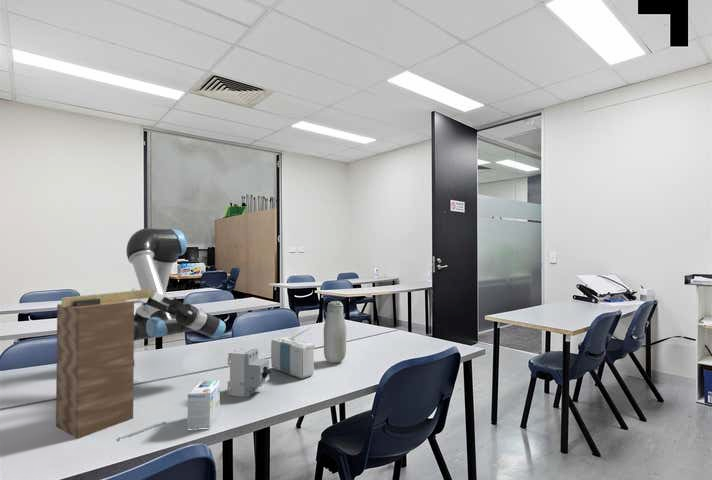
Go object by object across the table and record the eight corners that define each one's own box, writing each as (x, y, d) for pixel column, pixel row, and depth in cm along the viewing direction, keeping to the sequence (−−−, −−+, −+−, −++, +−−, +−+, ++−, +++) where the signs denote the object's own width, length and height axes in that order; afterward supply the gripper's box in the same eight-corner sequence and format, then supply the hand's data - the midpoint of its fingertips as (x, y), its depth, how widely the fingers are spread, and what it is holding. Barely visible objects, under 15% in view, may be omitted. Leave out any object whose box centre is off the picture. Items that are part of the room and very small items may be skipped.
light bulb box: (198, 414, 121) (198, 380, 122) (220, 414, 122) (220, 379, 122) (186, 431, 111) (186, 393, 111) (210, 430, 111) (210, 392, 111)
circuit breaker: (264, 398, 135) (264, 355, 135) (227, 395, 138) (227, 352, 138) (273, 390, 142) (273, 349, 142) (238, 387, 145) (238, 347, 145)
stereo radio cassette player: (270, 369, 166) (270, 323, 167) (285, 365, 172) (285, 320, 173) (300, 381, 152) (300, 330, 152) (316, 375, 158) (316, 327, 158)
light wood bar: (61, 306, 111) (61, 297, 111) (150, 296, 133) (150, 289, 133) (66, 307, 109) (66, 298, 109) (155, 297, 131) (155, 289, 131)
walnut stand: (55, 426, 114) (57, 299, 114) (110, 408, 126) (111, 294, 127) (77, 438, 106) (79, 302, 107) (133, 418, 119) (134, 296, 120)
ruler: (120, 441, 105) (120, 438, 105) (118, 440, 106) (118, 437, 106) (165, 425, 115) (165, 421, 115) (164, 424, 116) (164, 420, 116)
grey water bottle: (333, 367, 169) (333, 303, 170) (319, 362, 177) (319, 301, 177) (350, 362, 176) (350, 301, 176) (336, 357, 183) (336, 299, 184)
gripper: (175, 304, 152) (128, 281, 137) (217, 310, 139) (169, 285, 124) (166, 322, 149) (116, 300, 134) (208, 330, 136) (158, 307, 120)
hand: (142, 293), depth 129 cm, fingers open, 13 cm apart
